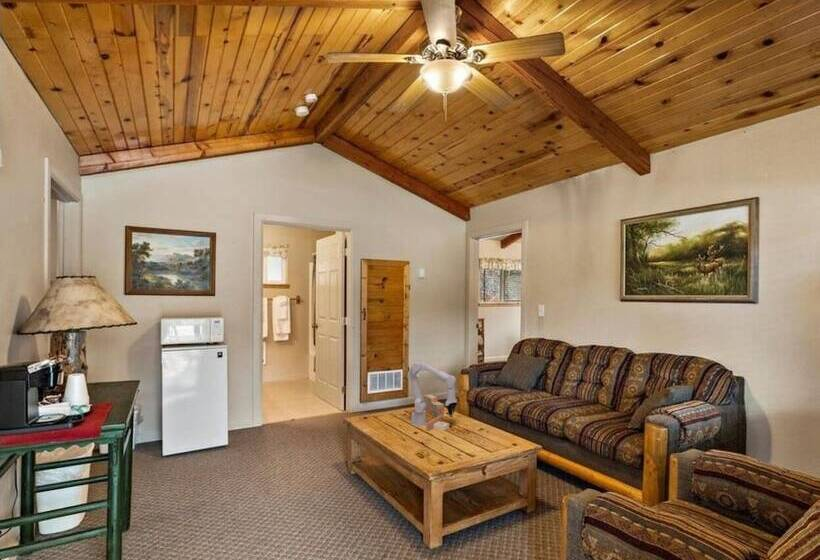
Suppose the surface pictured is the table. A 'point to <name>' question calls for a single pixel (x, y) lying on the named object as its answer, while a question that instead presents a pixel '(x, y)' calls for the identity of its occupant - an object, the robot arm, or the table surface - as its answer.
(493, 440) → the table surface
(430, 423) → the wall
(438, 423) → the beige square frame
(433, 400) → the stack of blocks
